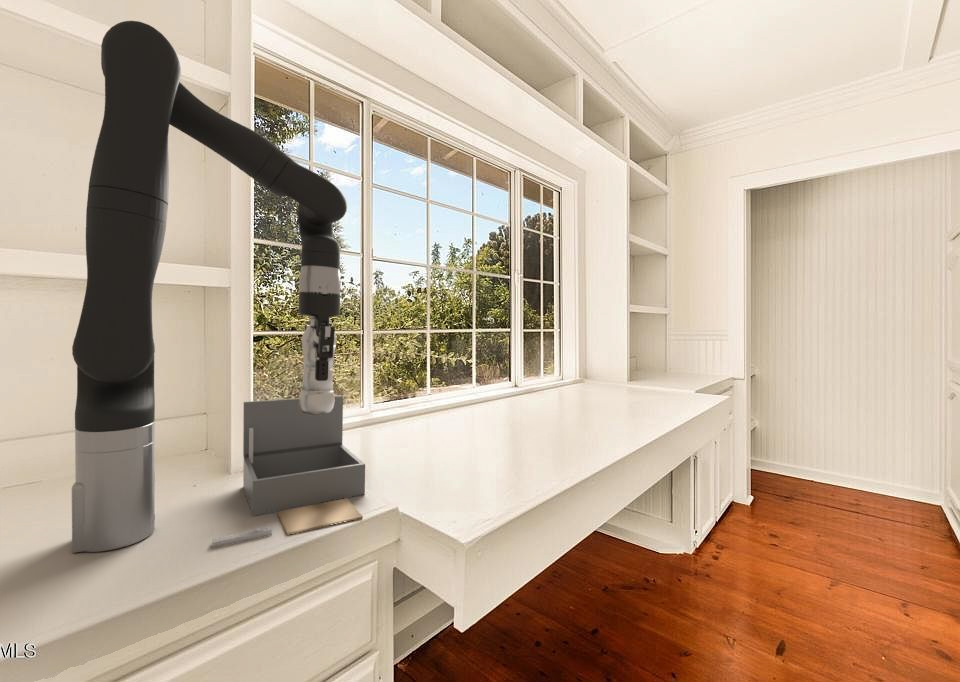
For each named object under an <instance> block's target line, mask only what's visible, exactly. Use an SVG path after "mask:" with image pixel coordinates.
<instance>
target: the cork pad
mask: <svg viewBox="0 0 960 682" xmlns="http://www.w3.org/2000/svg"><path fill="white" fill-rule="evenodd" d="M277 515H278V518H279V519H280V522H281V525H282V527H283V529H284V531H285V534H286V536H291V535H290V534H292V535H296V534H300V533H299V532H301V533H303V531H305V532H308V531H307V530H310V531H313V529H314V530H317V528H319V529H322V528H321V527H323V528H326V527H325V526H327V527H329V526H328V525H331V524H335V523H339V522H344V521H350V520H354V521H357V520H356V519H359V520H363V519H362V518H363V515H362V514H361V512H360V511H359V510H358V509H357V508H356V507H355V505H353V503H352V502H351V501H350V500H349V498H344V499H339V500H333V501H328V502H323V503H318V504H313V505H307V506H302V507H297V508H292V509H287V510H281V511H277ZM350 522H351V521H350ZM295 533H296V534H295Z"/></svg>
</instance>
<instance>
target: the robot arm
mask: <svg viewBox="0 0 960 682" xmlns="http://www.w3.org/2000/svg"><path fill="white" fill-rule="evenodd" d="M100 48H101V50H100V51H101V54H100V56H101V57H100V61H101V63H100V64H101V71H102V73H103V74H102V75H103V76H104V110H103V111H104V113H103V117H102V118H103V119H102V123H101V127H100V130H99V135H98V138H97V143H96V146H95V149H94V150H95V151H94V155H93V159H92V164H91V170H90V176H89V181H88V182H89V183H88V188H87V189H88V191H87V201H86V214H85V254H86V255H85V256H86V269H87V272H86V287H85V293H84V297H83V298H84V299H83V303H82V304H83V305H82V309H81V313H80V316H79V322H78V325H77V328H76V329H77V330H76V333H75V336H74V339H73V343H72V346H71V348H72V349H71V350H72V351H71V353H72V358H73V360H74V362H75V364H76V368H77V369H76V379H77V381H76V384H77V385H76V401H75V411H74V437H75V438H74V439H75V440H74V441H75V442H74V447H75V449H74V454H75V463H74V465H75V470H74V471H75V473H74V474H75V482H74V483H73V484H72V486H71V552H72V553H75V554H76V553H79V552H90V553H91V552H92V553H94V552H98V553H99V552H105V551H111V550H116V549H120V548H125V547H128V546H130V545H133V544H136V543H138V542H140V541H143V540H144V539H146V538H148V537H150V536H151V535H152V534H153V533H154V532H155V526H156V525H155V521H156V514H155V512H156V511H155V507H156V505H155V503H156V501H155V498H156V497H155V494H156V493H155V488H156V487H155V486H156V485H155V483H156V480H155V476H156V475H155V463H156V462H155V461H156V459H155V457H156V456H155V452H156V451H155V449H156V448H155V445H156V444H155V443H156V442H155V436H156V435H155V419H156V418H155V412H156V411H155V410H156V409H155V407H156V405H155V404H156V403H155V401H156V400H155V398H156V397H155V395H156V394H155V351H156V350H155V347H156V346H155V340H154V335H153V334H154V333H153V332H154V331H153V330H154V329H153V290H154V283H155V278H156V274H157V272H158V271H157V270H158V267H159V263H160V259H161V255H162V251H163V247H164V242H165V236H166V231H167V230H166V229H167V223H168V222H167V220H168V210H169V209H168V208H169V188H170V187H169V186H170V163H169V162H170V160H169V159H170V157H169V155H170V154H169V132H170V131H169V130H170V126H172V127H174V128H175V129H177V130H178V131H180V132H182V133H184V134H186V135H188V136H189V137H191V138H192V139H194V140H196V141H197V142H199V143H201V145H203V146H206V147H207V148H208V149H210V150H211V151H213V152H214V153H216V154H217V155H219V156H220V157H222V158H223V159H224V160H226V161H228V162H230V163H231V164H232V165H234V166H235V167H236V168H238V169H239V170H240V171H242V172H243V173H245V174H246V175H247V176H249V177H250V178H252V179H253V180H254V181H256V182H257V183H258V184H260V185H261V186H263V187H264V188H265V189H267V190H268V191H269V192H271V193H273V194H274V195H276V196H279V197H287V198H289V199H292V200H294V201H295V202H296V203H298V206H297V221H298V227H299V228H298V229H299V235H300V239H301V255H300V256H301V259H300V260H301V261H300V262H301V263H300V264H301V265H300V266H301V267H300V273H299V279H298V280H299V282H298V314H299V315H300V316H306V317H309V318H310V316H313V317H315V325H314V326H310V327H309V328H310V332H311V333H312V334H313V331H314V329H316V335H317V336H318V337H319V344H318V343H316V341H314V340H313V344H312V347H313V349H315V359H316V364H315V379H316V380H317V381H326V380H327V379H328V362H329V360H330V358H332V357H333V347H334V334H335V335H336V333H335V331H336V327H335V326H333V325H330V322H331V321H329V317H330V318H337V317H340V313H341V310H340V309H341V307H340V306H341V283H342V282H341V274H340V272H341V271H340V268H341V267H340V265H341V248H340V243H339V241H337V239H335V238H334V230H333V229H334V227H333V224H334V223H337V222H338V221H340V220H341V219H343V218H344V217H345V215H346V213H347V209H348V204H347V203H348V202H347V199H346V197H345V195H344V194H343V193H342V191H341V190H340V189H339V188H338V187H337V186H336V185H335V184H334V183H332V182H331V181H330V180H329V179H328V180H327V179H326V178H325V177H323V176H321V175H320V174H317V173H316V172H314V171H313V170H311V169H308V168H306V167H304V166H302V165H301V164H299V163H298V162H296V161H295V160H294V159H292V158H291V157H290V156H288V155H287V154H286V153H285V152H284V151H282V150H281V149H280V148H279V147H277V146H276V145H275V144H274V143H272V141H270V140H269V139H268V138H265V137H264V136H263V135H261V134H260V133H258V132H256V131H255V130H253V129H251V128H249V127H247V126H245V125H243V124H241V123H239V122H236V121H235V120H232V119H231V118H229V117H227V116H225V115H223V114H221V113H219V112H218V111H217V110H215V109H213V108H212V107H210V106H209V105H207V104H206V103H204V102H203V101H201V100H200V99H199V98H198V97H196V95H194V93H192V92H191V91H190V90H189V89H188V88H187V87H185V85H184V84H183V83H181V77H182V69H181V63H180V60H179V57H178V55H177V53H176V51H175V49H174V47H173V46H172V44H171V43H170V41H169V40H168V39H167V37H165V36H164V35H163V34H162V32H160V31H159V30H158V29H156V28H155V27H154V26H152V25H150V24H148V23H145V22H142V21H139V20H138V21H137V20H125V21H121V22H118V23H116V24H114V25H113V26H111V27H110V28H109V29H108V30H107V31H106V33H105V34H104V35H103V37H102V41H101V46H100ZM308 321H309V320H308ZM310 324H311V321H309V322H308V324H305V325H304V331H305V330H306V329H307V328H308V326H309V325H310ZM322 348H326V351H322Z"/></svg>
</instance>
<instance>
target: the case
mask: <svg viewBox="0 0 960 682" xmlns="http://www.w3.org/2000/svg"><path fill="white" fill-rule="evenodd" d="M334 397H335V402H334V407H333V409H332V410H331V412H329V413H324V414H320V415H311V414H305V413H302V411H301V410H300V407H299V398H283V399H281V398H280V399H269V400H268V399H267V400H253V401H249V400H248V401H243V417H242V419H243V420H242V422H243V424H242V425H243V428H242V429H243V430H242V431H243V432H242V434H243V435H242V436H243V437H242V438H243V440H242V446H243V447H242V454H243V456H242V457H243V477H242V478H243V479H242V480H243V485H242V486H243V487H242V488H243V489H244V494H245V496H246V499H247V502H248V507H249V509H250V512H251V515H252V517H257V516H260V515H265V514H269V513H276V512H279V511H284V510H289V509H294V508H300V507H305V506H310V505H315V504H317V503H318V504H320V503H322V502H323V503H325V502H327V501H328V502H331V500H333V501H336V499H339V500H341V498H344V499H346V498H347V497H349V498H353V497H352V496H354V497H357V496H356V495H359V496H362V495H361V494H365V495H366V493H365V492H366V463H365V462H363V461H362V460H361V459H360V458H359V457H358V456H356V455H355V454H354V453H353V452H351V451H350V449H348V448H347V447H346V446H344V444H343V431H344V430H343V429H344V428H343V421H344V420H343V419H344V411H343V410H344V407H343V406H344V396H343V395H341V394H340V395H334ZM347 499H348V498H347Z"/></svg>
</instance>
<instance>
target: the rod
mask: <svg viewBox="0 0 960 682" xmlns="http://www.w3.org/2000/svg"><path fill="white" fill-rule="evenodd" d="M268 535H270V536H272V535H273V529H272V526H269V527H262V528H258V529H254V530H253V529H252V530H249V531H244V532H241V533H235V534H231V535H226V536H221V537H220V536H219V537H217V538H212V539H211V548H212V549H215V548H219V547H221V548H222V547H225V546H229V545H228V544H230V545H233V544H232V543H234V544H238V543H237V542H239V543H242V542H247V541H252V540H256V539H260V538H259V537H261V538H265V537H269V536H268ZM264 536H265V537H264ZM255 538H256V539H255ZM251 539H252V540H251ZM224 545H225V546H224Z"/></svg>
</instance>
